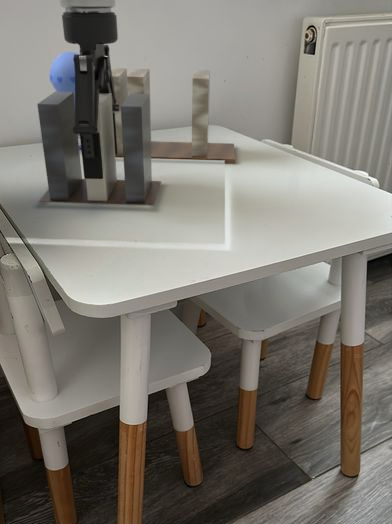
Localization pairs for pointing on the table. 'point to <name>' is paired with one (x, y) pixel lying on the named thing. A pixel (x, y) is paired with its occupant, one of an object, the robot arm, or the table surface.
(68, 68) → the baby rattle
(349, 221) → the table surface
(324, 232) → the table surface
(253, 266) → the table surface
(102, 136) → the white book
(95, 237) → the table surface
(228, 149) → the beige marbled rack
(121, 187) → the grey rack
